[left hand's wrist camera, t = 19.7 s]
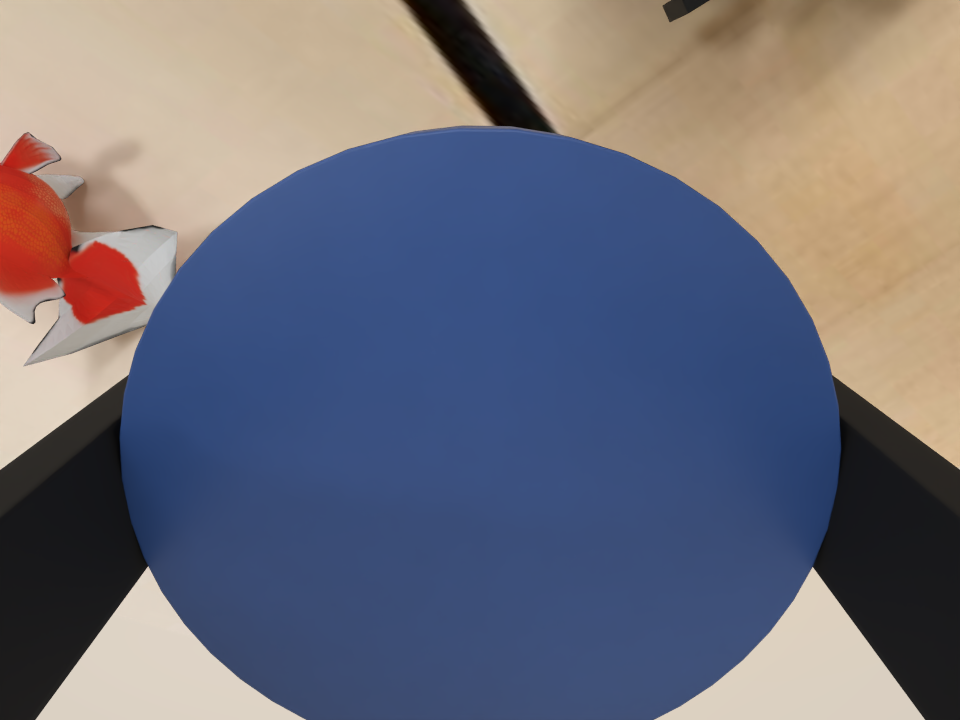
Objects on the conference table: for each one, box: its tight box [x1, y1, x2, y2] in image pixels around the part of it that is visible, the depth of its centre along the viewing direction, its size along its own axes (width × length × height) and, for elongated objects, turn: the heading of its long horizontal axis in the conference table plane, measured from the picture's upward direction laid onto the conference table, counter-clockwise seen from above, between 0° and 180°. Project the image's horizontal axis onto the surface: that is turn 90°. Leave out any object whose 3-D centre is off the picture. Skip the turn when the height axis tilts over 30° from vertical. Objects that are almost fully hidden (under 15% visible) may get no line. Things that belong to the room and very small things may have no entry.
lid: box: [120, 126, 841, 720], centre depth 11 cm, size 11×11×2 cm
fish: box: [0, 132, 177, 366], centre depth 34 cm, size 11×16×10 cm
